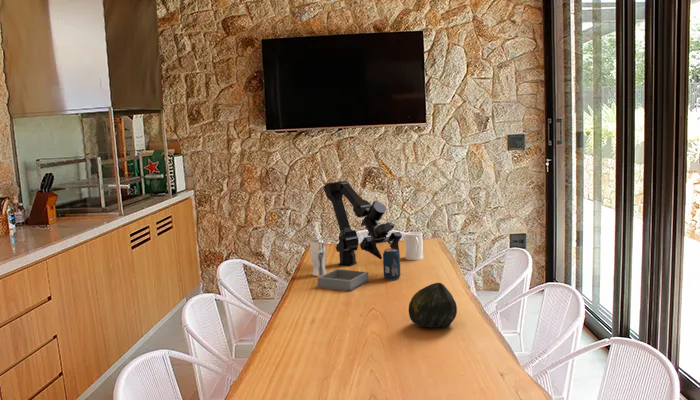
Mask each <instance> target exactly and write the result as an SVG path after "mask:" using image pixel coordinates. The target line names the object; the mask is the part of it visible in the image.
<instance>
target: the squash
mask: <svg viewBox="0 0 700 400" xmlns="http://www.w3.org/2000/svg"><path fill="white" fill-rule="evenodd" d="M457 307H458V306H457V302H456V300H455V299H454V296H453V295H452V293H451V292H450V291H449V289H448V288H447V287H446V286H445V284H443V283H442V282H436V283H434V282H433V283H431V284H429V285H427V286H425V287H423V288H421V289H419V290H418V291H417V292H415V294H414V295H413V296H412V297H411V300H410V301H409V304H408V316H409V319H410V321H411V323H413V324H414V325H417V326H418V327H420V328H427V327H428V328H433V327H434V328H440V329H444V328H447V327H449V326H451V324H452V323H453V322H454V321H455V319H456V317H457V312H458V308H457Z"/></svg>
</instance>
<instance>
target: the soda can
mask: <svg viewBox="0 0 700 400" xmlns="http://www.w3.org/2000/svg"><path fill="white" fill-rule="evenodd" d="M382 260H383V261H382V264H383V266H382V267H383V277H384V279H385V280H388V281H396V280H398V279H400V277H401V253H400V251H399V252H398V249H392V248H386V249H384V251H383V253H382Z"/></svg>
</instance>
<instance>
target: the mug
mask: <svg viewBox="0 0 700 400" xmlns="http://www.w3.org/2000/svg"><path fill="white" fill-rule="evenodd" d="M404 240H405V243H404V244H405V258H404V259H405V260H407V261H421V260H424V249H423V248H424V247H423V246H424V244H423V242H424V241H423V232H421V231H408V232H407V231H406V232H405V233H404Z"/></svg>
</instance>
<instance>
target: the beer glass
mask: <svg viewBox="0 0 700 400" xmlns="http://www.w3.org/2000/svg"><path fill="white" fill-rule="evenodd" d="M309 251H310V252H309V253H310V259H311V263H312V274H311V275H312V277H313V276H314V277H320V276H323V275H325V274H327V270H326V260H327V242H326V239H324V238H315V239H312V240H310V242H309Z"/></svg>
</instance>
